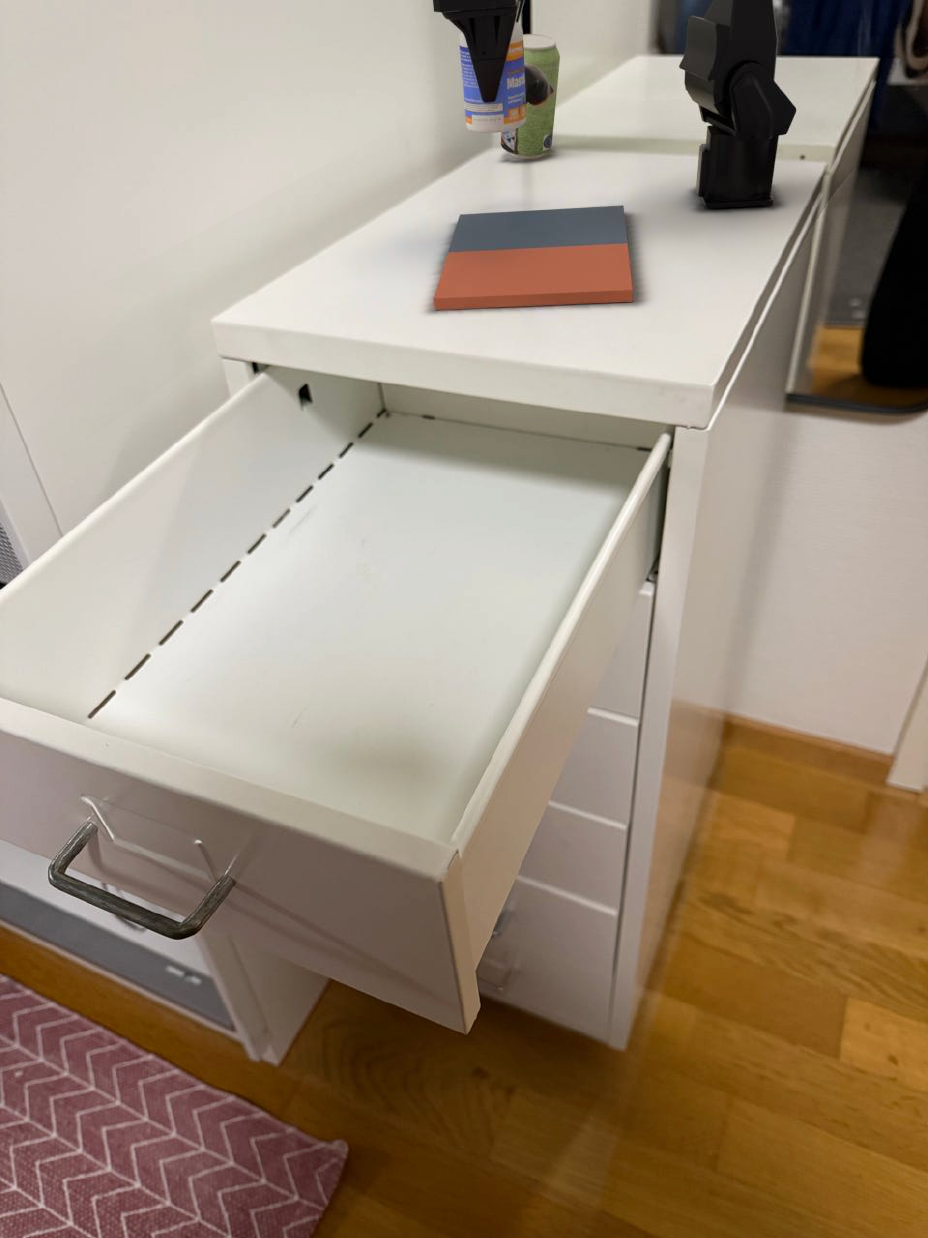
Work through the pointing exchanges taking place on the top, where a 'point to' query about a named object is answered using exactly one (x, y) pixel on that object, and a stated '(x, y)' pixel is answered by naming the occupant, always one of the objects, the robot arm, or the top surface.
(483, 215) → the board
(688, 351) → the top surface
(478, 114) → the pill bottle
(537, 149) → the beverage can
